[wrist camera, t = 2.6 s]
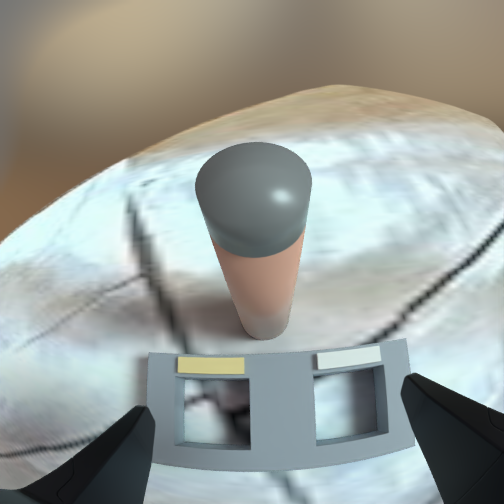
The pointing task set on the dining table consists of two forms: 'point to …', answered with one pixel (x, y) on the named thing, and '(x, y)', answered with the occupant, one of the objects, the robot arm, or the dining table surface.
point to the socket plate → (279, 408)
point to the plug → (257, 228)
